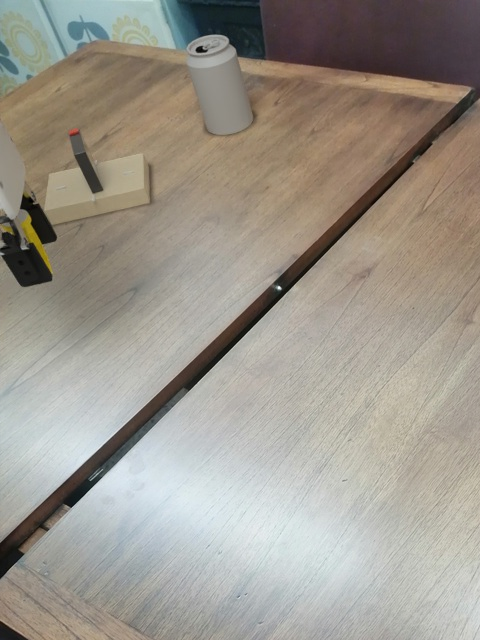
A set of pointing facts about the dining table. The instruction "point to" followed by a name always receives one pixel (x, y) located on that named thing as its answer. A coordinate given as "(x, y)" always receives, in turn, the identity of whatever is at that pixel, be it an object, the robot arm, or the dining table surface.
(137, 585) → the dining table surface
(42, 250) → the watch
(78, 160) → the grey block
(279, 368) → the dining table surface
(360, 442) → the dining table surface
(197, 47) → the can
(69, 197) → the tan rectangular block
